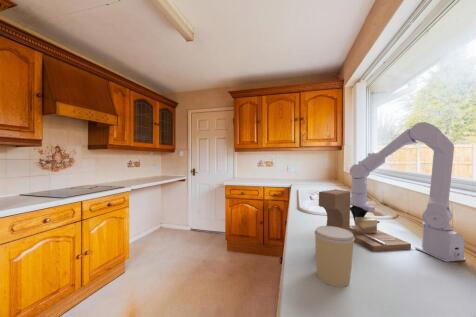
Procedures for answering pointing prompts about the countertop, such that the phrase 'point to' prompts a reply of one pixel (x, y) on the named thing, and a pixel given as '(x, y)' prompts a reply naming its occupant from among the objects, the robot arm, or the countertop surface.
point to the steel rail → (368, 236)
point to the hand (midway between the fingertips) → (358, 224)
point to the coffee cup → (334, 255)
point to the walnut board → (390, 241)
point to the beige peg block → (366, 224)
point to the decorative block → (336, 207)
